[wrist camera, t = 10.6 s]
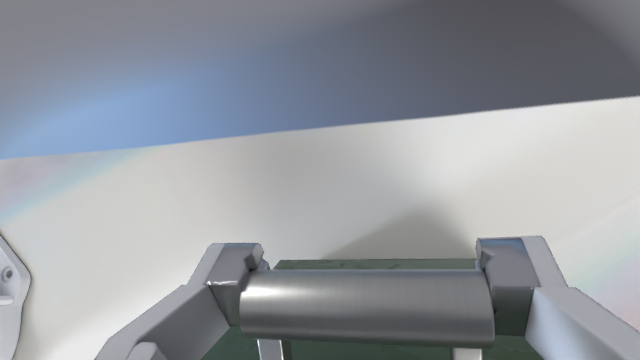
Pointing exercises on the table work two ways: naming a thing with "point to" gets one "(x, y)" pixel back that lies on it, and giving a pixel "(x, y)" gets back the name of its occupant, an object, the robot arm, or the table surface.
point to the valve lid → (368, 313)
